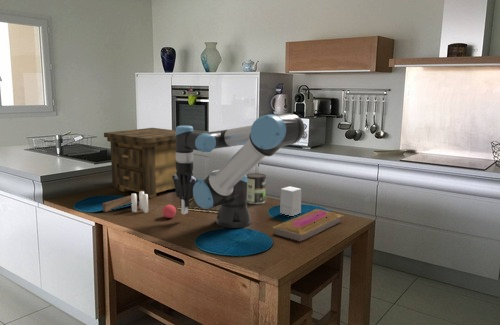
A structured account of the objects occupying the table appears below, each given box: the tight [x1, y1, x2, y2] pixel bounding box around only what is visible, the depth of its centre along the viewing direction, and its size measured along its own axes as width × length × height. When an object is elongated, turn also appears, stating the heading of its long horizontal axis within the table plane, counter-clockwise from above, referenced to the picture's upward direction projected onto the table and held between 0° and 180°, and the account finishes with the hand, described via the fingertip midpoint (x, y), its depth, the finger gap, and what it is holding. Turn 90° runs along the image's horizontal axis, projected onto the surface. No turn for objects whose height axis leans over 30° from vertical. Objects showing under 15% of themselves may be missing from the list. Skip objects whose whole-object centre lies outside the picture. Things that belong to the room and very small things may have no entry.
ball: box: [162, 204, 177, 219], centre depth 198 cm, size 6×6×6 cm
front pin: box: [142, 194, 149, 214], centre depth 205 cm, size 2×2×8 cm
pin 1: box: [131, 192, 138, 213], centre depth 206 cm, size 2×2×8 cm
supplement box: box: [279, 185, 302, 217], centre depth 205 cm, size 7×7×13 cm
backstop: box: [102, 194, 139, 213], centre depth 213 cm, size 2×20×4 cm, turn 148°
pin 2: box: [138, 191, 144, 211], centre depth 210 cm, size 2×2×8 cm
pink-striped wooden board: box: [271, 208, 345, 242], centre depth 188 cm, size 35×14×6 cm, turn 140°
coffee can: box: [246, 172, 267, 205], centre depth 226 cm, size 10×10×14 cm
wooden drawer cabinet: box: [103, 127, 177, 199], centre depth 244 cm, size 35×35×33 cm
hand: (184, 213), depth 193 cm, fingers closed
